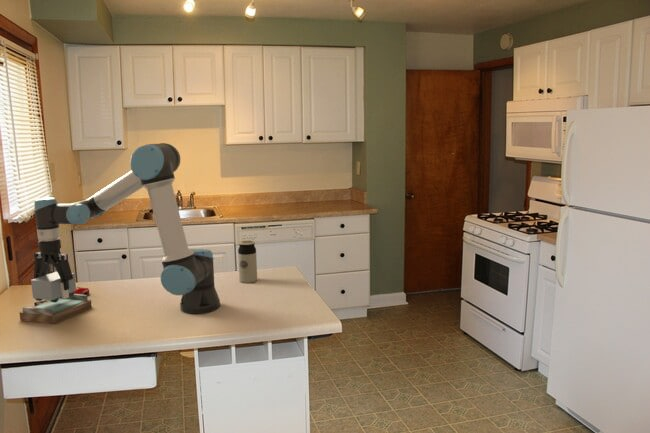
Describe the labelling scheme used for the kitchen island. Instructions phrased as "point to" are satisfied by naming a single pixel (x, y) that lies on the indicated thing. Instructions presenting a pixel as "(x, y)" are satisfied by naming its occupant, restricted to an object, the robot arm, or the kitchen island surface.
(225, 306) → the kitchen island surface
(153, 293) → the kitchen island surface
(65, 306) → the tray
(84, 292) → the race car
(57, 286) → the grey cart
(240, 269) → the travel mug
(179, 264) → the robot arm
